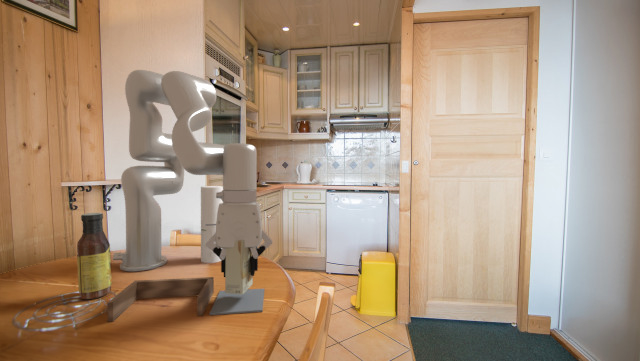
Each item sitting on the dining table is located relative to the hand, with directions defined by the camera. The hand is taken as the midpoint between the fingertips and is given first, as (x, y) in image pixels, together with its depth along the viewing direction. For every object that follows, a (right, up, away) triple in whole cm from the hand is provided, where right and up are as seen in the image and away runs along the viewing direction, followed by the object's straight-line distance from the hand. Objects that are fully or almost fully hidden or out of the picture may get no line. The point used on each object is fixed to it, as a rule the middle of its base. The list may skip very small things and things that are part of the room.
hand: (239, 273), depth 65 cm
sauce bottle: (-36, -6, +3) cm, 37 cm away
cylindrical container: (-18, -5, +30) cm, 35 cm away
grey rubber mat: (0, -7, 0) cm, 7 cm away
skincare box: (0, -4, 0) cm, 4 cm away
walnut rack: (-16, -6, -2) cm, 17 cm away
